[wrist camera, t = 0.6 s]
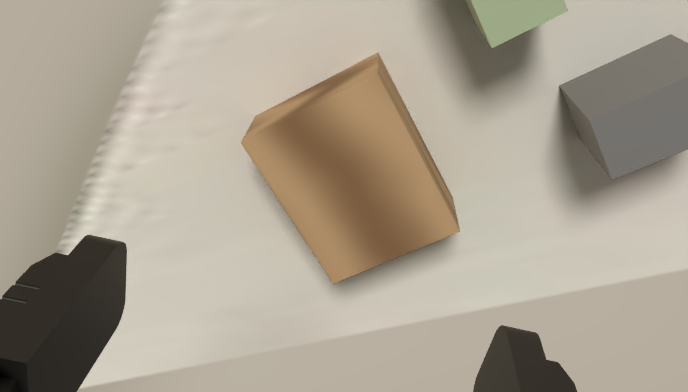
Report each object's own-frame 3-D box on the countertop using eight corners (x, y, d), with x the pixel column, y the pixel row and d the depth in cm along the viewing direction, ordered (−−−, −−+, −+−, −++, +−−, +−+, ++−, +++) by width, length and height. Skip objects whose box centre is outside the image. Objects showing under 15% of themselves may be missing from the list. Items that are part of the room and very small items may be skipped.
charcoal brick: (670, 34, 31) (723, 61, 26) (687, 91, 33) (740, 127, 28) (559, 85, 33) (589, 120, 28) (579, 138, 34) (612, 179, 29)
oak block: (378, 52, 33) (377, 73, 29) (452, 197, 36) (460, 231, 33) (255, 116, 35) (240, 142, 31) (337, 247, 39) (333, 283, 35)
